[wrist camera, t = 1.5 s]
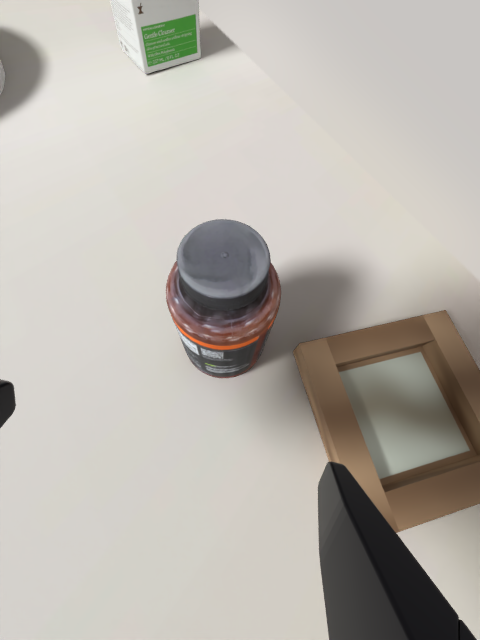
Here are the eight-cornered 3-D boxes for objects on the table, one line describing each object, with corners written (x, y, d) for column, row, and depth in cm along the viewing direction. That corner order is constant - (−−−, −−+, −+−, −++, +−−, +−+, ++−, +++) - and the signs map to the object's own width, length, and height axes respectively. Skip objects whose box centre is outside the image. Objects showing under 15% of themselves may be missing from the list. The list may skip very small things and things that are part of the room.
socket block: (512, 478, 20) (542, 481, 18) (352, 532, 18) (367, 542, 16) (428, 320, 24) (445, 309, 23) (292, 351, 23) (299, 343, 21)
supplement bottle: (247, 298, 24) (266, 188, 14) (273, 365, 22) (320, 295, 12) (175, 318, 23) (139, 215, 13) (196, 391, 21) (173, 339, 11)
